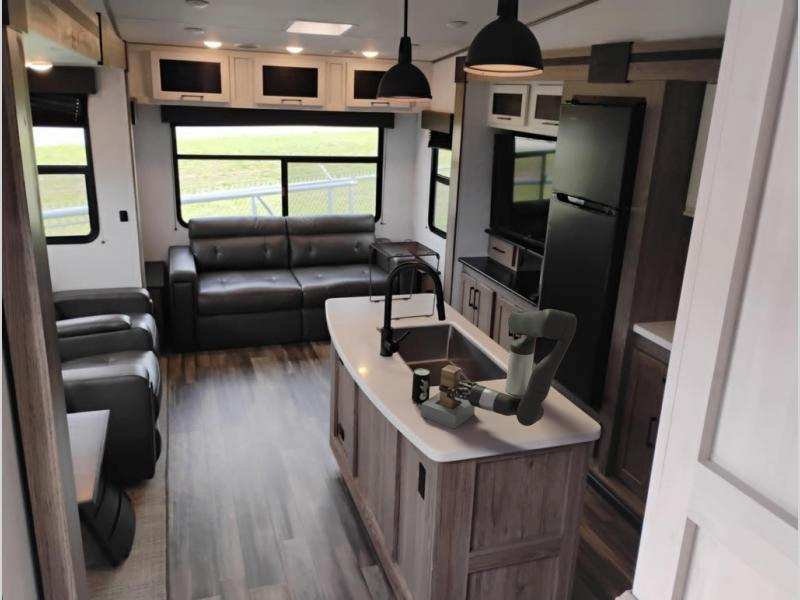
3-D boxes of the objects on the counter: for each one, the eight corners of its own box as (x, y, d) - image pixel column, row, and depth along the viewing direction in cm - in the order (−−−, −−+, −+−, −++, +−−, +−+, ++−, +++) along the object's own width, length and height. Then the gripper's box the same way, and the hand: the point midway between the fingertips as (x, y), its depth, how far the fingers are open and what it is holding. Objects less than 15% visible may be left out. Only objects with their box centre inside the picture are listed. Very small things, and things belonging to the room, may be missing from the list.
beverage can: (414, 405, 232) (416, 375, 229) (409, 397, 238) (411, 368, 235) (431, 403, 234) (433, 374, 230) (425, 396, 240) (427, 367, 236)
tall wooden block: (446, 404, 229) (448, 364, 224) (457, 409, 226) (461, 368, 221) (438, 409, 225) (441, 369, 220) (450, 414, 222) (453, 372, 217)
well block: (441, 402, 236) (442, 390, 234) (474, 413, 228) (475, 401, 226) (421, 416, 225) (421, 403, 223) (454, 428, 217) (455, 415, 215)
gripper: (496, 381, 219) (454, 368, 229) (476, 395, 208) (433, 381, 217) (494, 401, 222) (453, 387, 231) (474, 415, 210) (432, 401, 220)
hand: (443, 384), depth 224 cm, fingers closed on tall wooden block, 5 cm apart
